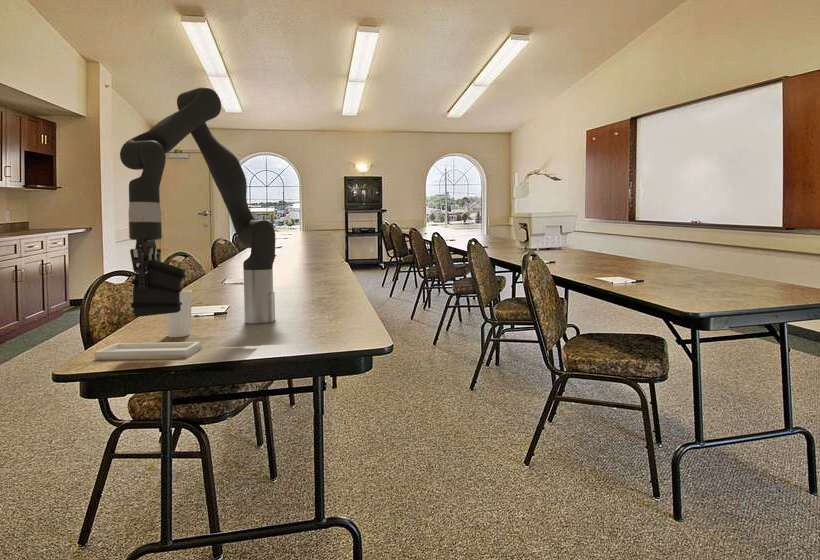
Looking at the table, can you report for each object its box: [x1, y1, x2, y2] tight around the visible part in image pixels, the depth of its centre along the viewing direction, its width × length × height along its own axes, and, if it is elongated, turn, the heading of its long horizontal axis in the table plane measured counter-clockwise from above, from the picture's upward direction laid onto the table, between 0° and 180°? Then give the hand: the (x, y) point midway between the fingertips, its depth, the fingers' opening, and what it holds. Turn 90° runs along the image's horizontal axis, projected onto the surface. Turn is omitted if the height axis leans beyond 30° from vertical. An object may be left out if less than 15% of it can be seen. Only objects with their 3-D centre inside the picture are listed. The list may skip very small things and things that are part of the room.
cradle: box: [94, 341, 202, 361], centre depth 147 cm, size 22×12×2 cm, turn 94°
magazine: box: [130, 259, 187, 318], centre depth 146 cm, size 4×13×15 cm, turn 99°
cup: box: [165, 289, 193, 338], centre depth 169 cm, size 8×8×14 cm
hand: (147, 288), depth 146 cm, fingers closed on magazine, 4 cm apart
